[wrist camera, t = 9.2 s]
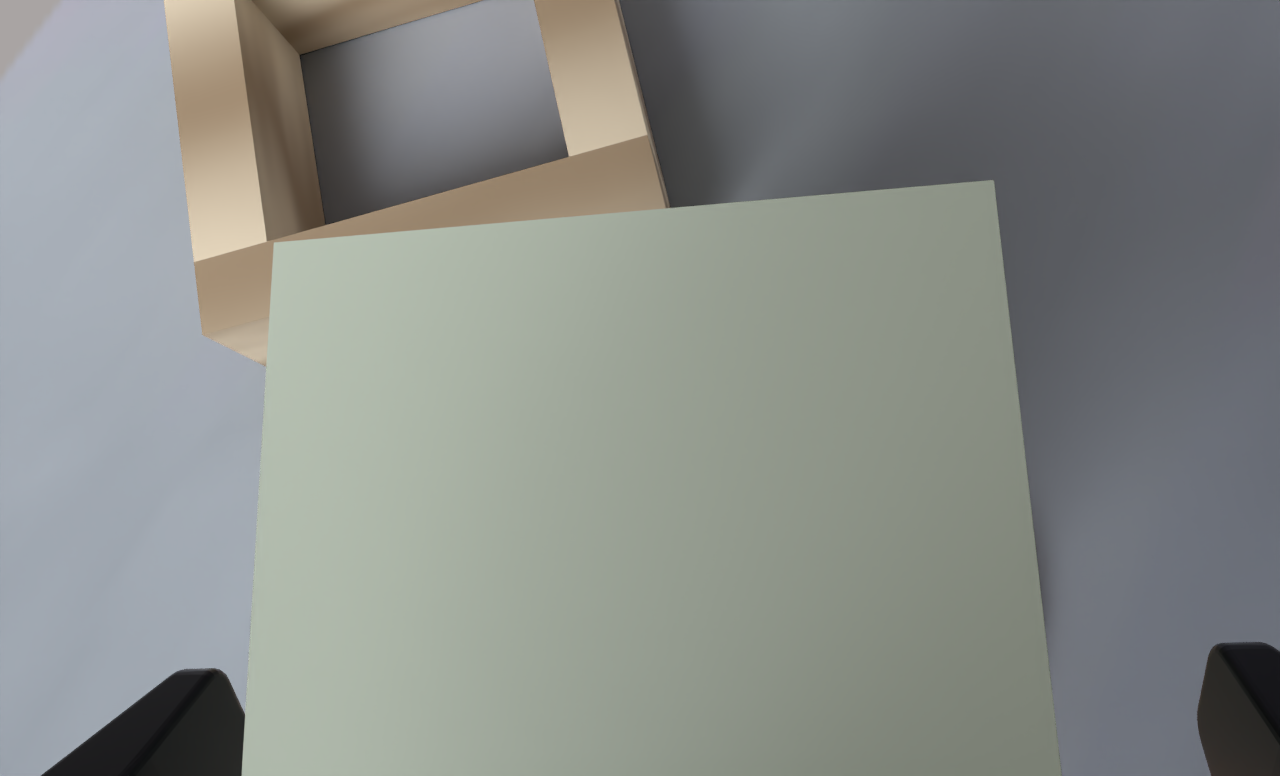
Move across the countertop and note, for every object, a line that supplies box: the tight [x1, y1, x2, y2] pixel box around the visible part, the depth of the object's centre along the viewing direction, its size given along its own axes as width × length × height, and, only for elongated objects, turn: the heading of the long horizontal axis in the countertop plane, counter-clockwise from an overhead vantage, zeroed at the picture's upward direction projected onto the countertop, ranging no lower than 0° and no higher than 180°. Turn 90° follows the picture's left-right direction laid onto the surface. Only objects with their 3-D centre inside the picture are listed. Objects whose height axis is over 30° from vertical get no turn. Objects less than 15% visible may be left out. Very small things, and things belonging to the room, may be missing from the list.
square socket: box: [164, 0, 671, 366], centre depth 22 cm, size 9×9×3 cm
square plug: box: [242, 180, 1062, 776], centre depth 13 cm, size 5×5×13 cm
